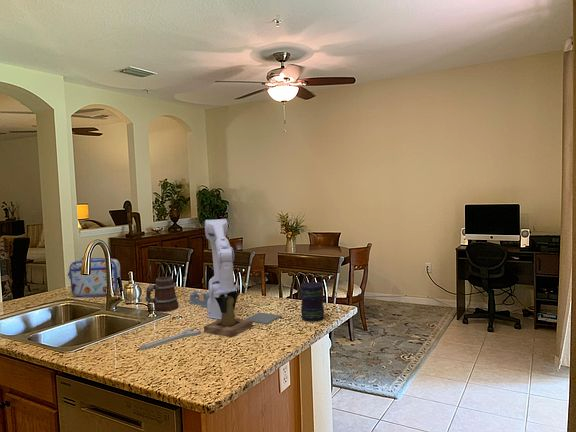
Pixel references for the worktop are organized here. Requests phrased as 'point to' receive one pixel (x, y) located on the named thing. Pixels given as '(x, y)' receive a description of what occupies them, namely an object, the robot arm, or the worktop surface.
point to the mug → (163, 294)
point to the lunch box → (92, 278)
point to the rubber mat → (263, 318)
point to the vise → (199, 298)
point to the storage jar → (312, 302)
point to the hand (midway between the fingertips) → (227, 310)
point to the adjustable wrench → (171, 338)
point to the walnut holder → (228, 328)
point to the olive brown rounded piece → (228, 313)
